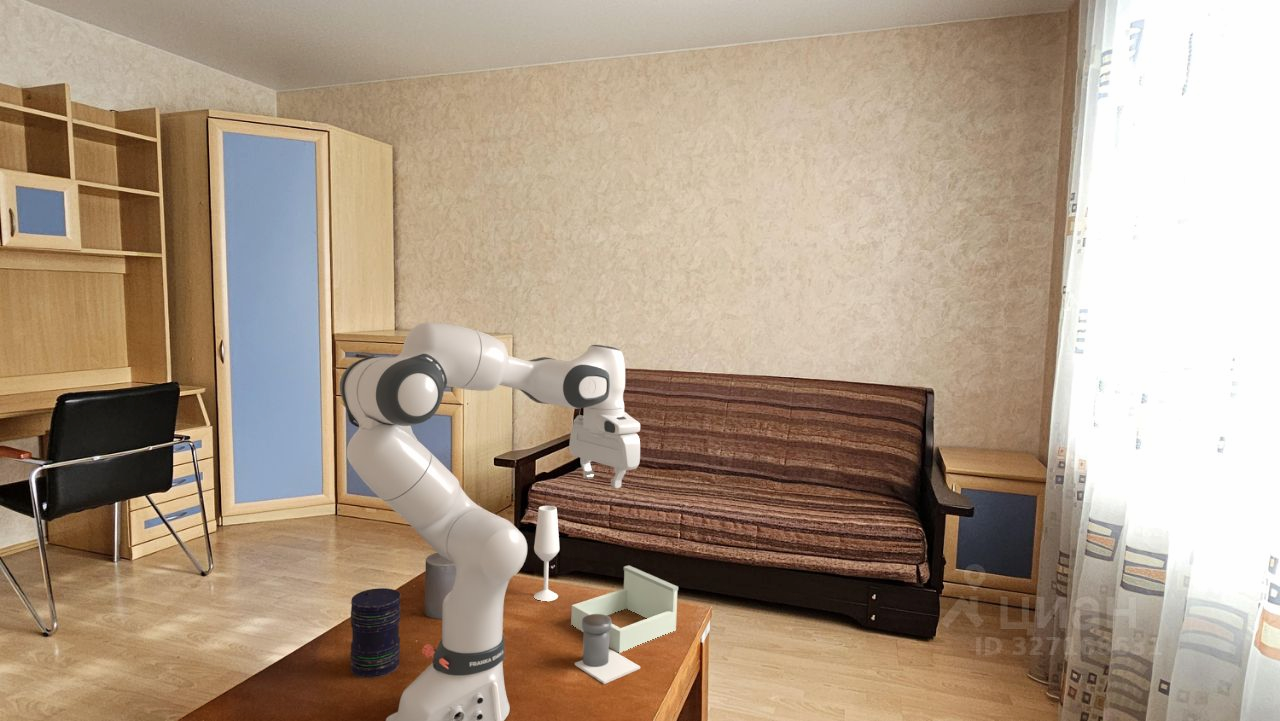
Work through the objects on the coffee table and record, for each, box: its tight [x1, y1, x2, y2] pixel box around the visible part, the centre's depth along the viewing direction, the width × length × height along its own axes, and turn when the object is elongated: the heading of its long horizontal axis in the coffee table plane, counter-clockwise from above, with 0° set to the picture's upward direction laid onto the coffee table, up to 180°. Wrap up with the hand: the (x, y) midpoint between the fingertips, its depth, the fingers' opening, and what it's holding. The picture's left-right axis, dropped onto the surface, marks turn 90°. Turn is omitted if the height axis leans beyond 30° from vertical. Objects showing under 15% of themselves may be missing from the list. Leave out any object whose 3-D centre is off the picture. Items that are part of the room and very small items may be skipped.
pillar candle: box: [424, 552, 456, 620], centre depth 176 cm, size 10×10×15 cm
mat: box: [574, 648, 641, 685], centre depth 152 cm, size 10×10×1 cm
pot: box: [582, 614, 613, 667], centre depth 153 cm, size 6×6×9 cm
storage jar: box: [349, 587, 401, 679], centre depth 148 cm, size 10×10×15 cm
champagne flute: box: [533, 505, 561, 602], centre depth 187 cm, size 7×7×24 cm
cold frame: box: [570, 565, 679, 654], centre depth 170 cm, size 18×18×11 cm
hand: (601, 482), depth 153 cm, fingers open, 8 cm apart
